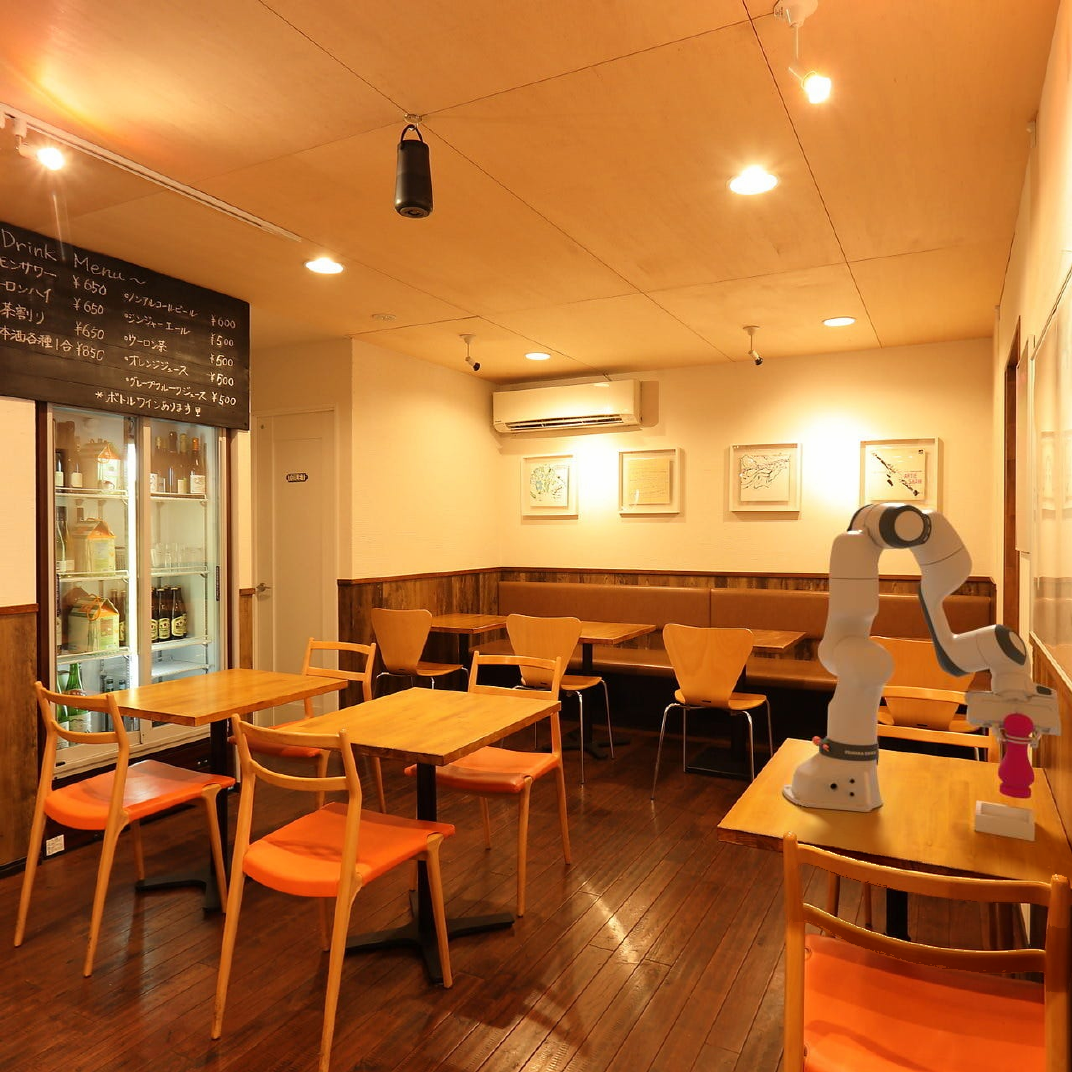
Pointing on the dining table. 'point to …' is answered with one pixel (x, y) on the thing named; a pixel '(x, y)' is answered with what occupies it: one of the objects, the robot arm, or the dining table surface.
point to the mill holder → (1005, 820)
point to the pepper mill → (1016, 756)
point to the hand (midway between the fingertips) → (1018, 744)
